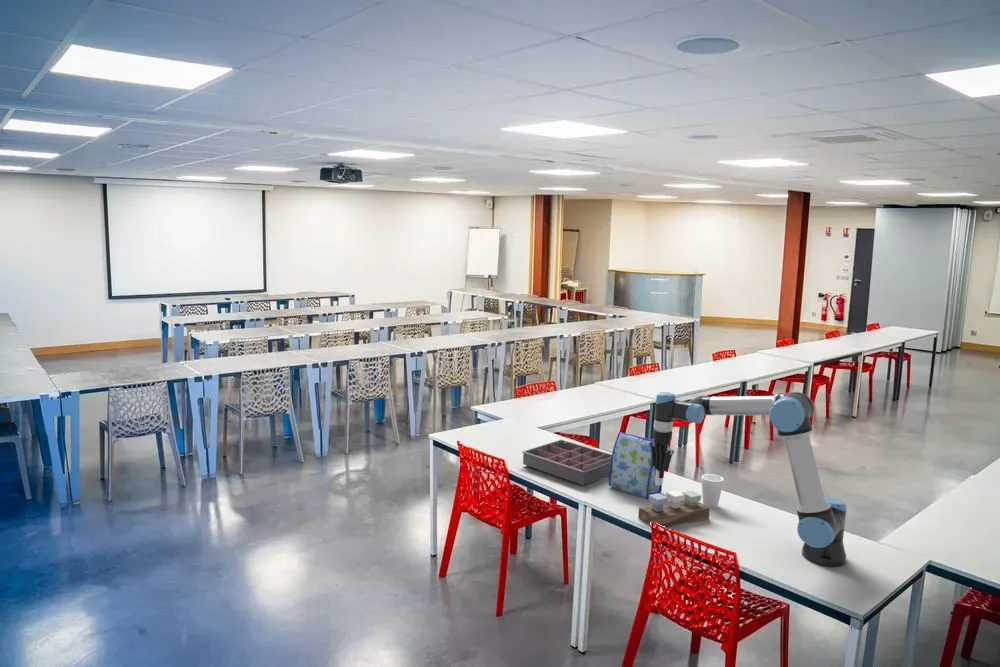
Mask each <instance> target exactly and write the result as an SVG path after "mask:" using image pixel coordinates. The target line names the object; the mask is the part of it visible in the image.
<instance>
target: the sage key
mask: <svg viewBox="0 0 1000 667" xmlns="http://www.w3.org/2000/svg"><path fill="white" fill-rule="evenodd" d="M681 493H682V494H684V495H685V500H686V504H687V505H688V506H690V507H692V506H696V502H697V501H698V502H701V501H702V494H699V493H698V492H696V491H694V490H688V491H682V492H681Z"/></svg>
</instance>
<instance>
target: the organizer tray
mask: <svg viewBox="0 0 1000 667" xmlns="http://www.w3.org/2000/svg"><path fill="white" fill-rule="evenodd" d="M521 453H523V454H522V455H523V456H522V458H523V459H522V461H523V462H522V464H523V465H525V466H528V467H531V468H533V469H535V470H538V471H542V472H545V473H547V474H549V475H553V476H556V477H560V478H563V479H565V480H567V481H570V482H573V483H577V484H580V485H581V486H584V485H586V484H589V483H592V482H594V481H597V480H600V479H601V478H604V477H606V476H609V470H610V463H611V457H612V453H608V452H605V451H602V450H599V449H594V448H591V447H588V446H585V445H581V444H577V443H574V442H571V441H567V440H565V439H558V440H554V441H552V442H548V443H544V444H542V445H539V446H536V447H532V448H529V449H526V450H523V451H521Z"/></svg>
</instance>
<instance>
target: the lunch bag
mask: <svg viewBox="0 0 1000 667" xmlns="http://www.w3.org/2000/svg"><path fill="white" fill-rule="evenodd" d="M650 442H654V438H653V439H652V438H647V437H644V436H639V435H635V434H630V433H626V432H621V431H619V432H618V433H617V437H616V439H615V442H614V445H613V447H612V451H611V452H612V453H611V454H612V457H611V463H610V470H609V475H608V487H611V488H614V489H617V490H621V491H624V492H626V493H630V494H632V495H636V496H638V497H642V498H645V499H647V500H649V495H652V494H658V493H660V494H662V488H663V487H662V486H663V484H662V485H659V486H657V485H655V478H656V476H655V467H654V466H652V456H651V447H650Z"/></svg>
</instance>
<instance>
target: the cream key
mask: <svg viewBox="0 0 1000 667" xmlns="http://www.w3.org/2000/svg"><path fill="white" fill-rule="evenodd" d="M665 496H666V497H667V498H668V501H670V505H669V506H670V507H672V508H674V509H676V508H680V501H685V495H684V494H682V492H680V491H679V490H677V489H676V490H675V489H674V490H671V491H670V490H669V491H666V493H665Z"/></svg>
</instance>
